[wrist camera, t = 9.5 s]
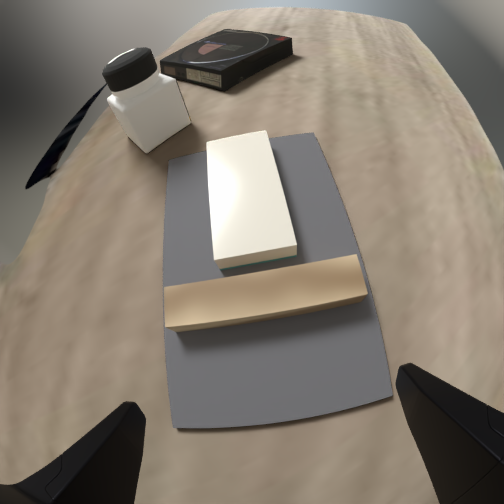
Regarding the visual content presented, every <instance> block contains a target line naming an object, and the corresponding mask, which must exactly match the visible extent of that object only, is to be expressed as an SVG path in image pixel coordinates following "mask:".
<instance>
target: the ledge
mask: <svg viewBox="0 0 504 504" xmlns="http://www.w3.org/2000/svg"><path fill="white" fill-rule="evenodd" d="M367 294H368V292H367V288H366V285H365V281H364V277H363V274H362V270H361V267H360V264H359V260H358V257H357V254H354V255H349V256H344V257H338V258H333V259H328V260H322V261H317V262H311V263H306V264H300V265H295V266H289V267H284V268H278V269H272V270H266V271H261V272H255V273H249V274H243V275H237V276H231V277H225V278H219V279H213V280H206V281H200V282H194V283H187V284H181V285H174V286H168V287H164V313H165V327H166V328H168V329H170V330H172V331H174V332H183V331H192V330H201V329H210V328H218V327H225V326H233V325H240V324H247V323H253V322H260V321H266V320H272V319H278V318H284V317H290V316H295V315H301V314H306V313H311V312H316V311H321V310H326V309H331V308H336V307H340V306H345V305H350V304H354V303H358V302H361V301H362V300H363V299H364V298H365V297H366V296H367Z"/></svg>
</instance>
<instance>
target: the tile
mask: <svg viewBox="0 0 504 504" xmlns="http://www.w3.org/2000/svg"><path fill="white" fill-rule="evenodd" d="M206 143H207V165H208V184H209V200H210V215H211V229H212V242H213V254H214V261H215V263H216V264H217V266H218V267H219V269H220V271H221V270H226V269H232V268H237V267H243V266H248V265H254V264H259V263H265V262H270V261H276V260H281V259H287V258H292V257H296V256H297V243H296V239H295V235H294V231H293V227H292V223H291V219H290V215H289V211H288V207H287V203H286V200H285V196H284V192H283V188H282V185H281V181H280V177H279V174H278V170H277V167H276V163H275V159H274V156H273V152H272V149H271V146H270V142H269V139H268V135H267V132H266V130H264V131H258V132H253V133H247V134H242V135H237V136H232V137H227V138H223V139H218V140H214V141H209V142H206Z"/></svg>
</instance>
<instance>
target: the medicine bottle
mask: <svg viewBox="0 0 504 504" xmlns="http://www.w3.org/2000/svg"><path fill="white" fill-rule="evenodd" d="M102 75H103V77H104V79H105V80H106V83H107V84H108V86H109V88H110V90H111V92H112V95H111V96H109V97H108V98H107V101H108V103H109V105H110V107H111V109H112V110H113V112H114V114H115V116H116V117H117V119H118V121H119V123H120V124H121V126H122V128H123V130H124V131H125V133H126V135H127V136H128V137H129V138H130V139H131V140H132V141H133V142H134V143H135V144H136V145H137V146H139V147H140V148H141V149H142V150H143V151H144V152H145V153H149V152H150V151H151V150H153V149H154V148H155V147H157V146H158V145H160V144H161V143H162V142H164V141H165V140H167V139H168V138H169V137H171V136H172V135H174V134H175V133H177V132H178V131H180V130H181V129H183V128H184V127H186V126H187V125H189V124H190V123H191V119H190V116H189V114H188V111H187V108H186V105H185V103H184V100H183V97H182V94H181V92H180V89H179V86H178V83H177V81H176V79H174V78H172V77H169V76H166V75H163V74H160V73H159V69H158V67H157V64H156V62H155V59H154V57H153V54H152V51H151V49H149V48H135V49H132V50H129V51H127V52H125V53H123V54H121V55H119V56H117V57H116V58H115V59H113V60H112V61H111V62H109V63H108V64H107V66H106V67H105V68H104V70H103V73H102Z"/></svg>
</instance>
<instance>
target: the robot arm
mask: <svg viewBox="0 0 504 504" xmlns="http://www.w3.org/2000/svg"><path fill="white" fill-rule="evenodd" d="M396 389H397V392H398V395H399V398H400V401H401V404H402V407H403V411H404V414H405V417H406V420H407V423H408V426H409V428H410V430H411V433H412V435H413V437H414V440H415V442H416V444H417V447H418V449H419V451H420V454H421V456H422V459H423V461H424V464H425V466H426V469H427V471H428V474H429V476H430V479H431V481H432V484H433V487H434V489H435V492H436V495H437V498H438V501H439V503H440V504H504V413H503V412H500V411H498V410H496V409H494V408H493V407H491V406H489V405H487V404H485V403H483V402H481V401H479V400H478V399H476V398H474V397H472V396H470V395H468V394H467V393H465V392H463V391H461V390H459V389H457V388H456V387H454V386H452V385H450V384H448V383H447V382H445V381H443V380H441V379H439V378H438V377H436V376H434V375H432V374H430V373H429V372H427V371H425V370H423V369H421V368H420V367H418V366H416V365H414V364H412V363H407V364H404V365H401V366H400V367H399V369H398V374H397V379H396ZM145 426H146V418H145V415H144V414H143V412H142V411H141V409H140V408H139V406H138V405H137V404H136V403H135V402H128V401H126V402H123V403H122V404H121V405H120V406H119V407H118V408H116V409H115V410H114V411H113V412H112V413H110V414H109V415H108V416H107V417H106V418H105V419H103V420H102V421H101V422H100V423H99V424H97V425H96V426H95V427H94V428H93V429H92V430H90V431H89V432H88V433H87V434H86V435H84V436H83V437H82V438H81V439H79V440H78V441H77V442H76V443H75V444H73V445H72V446H71V447H70V448H68V449H67V450H66V451H65V452H64V453H63V454H61V455H60V456H59V457H57V458H56V459H55V460H53V461H52V462H51V463H49V464H48V465H47V466H45V467H44V468H42V469H41V470H39V471H38V472H36V473H34V474H33V475H31V476H29V477H28V478H26V479H24V480H23V481H21V482H19V483H16V484H12V485H3V484H0V504H134V501H135V495H136V489H137V483H138V478H139V472H140V467H141V462H142V456H143V447H144V436H145Z"/></svg>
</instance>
